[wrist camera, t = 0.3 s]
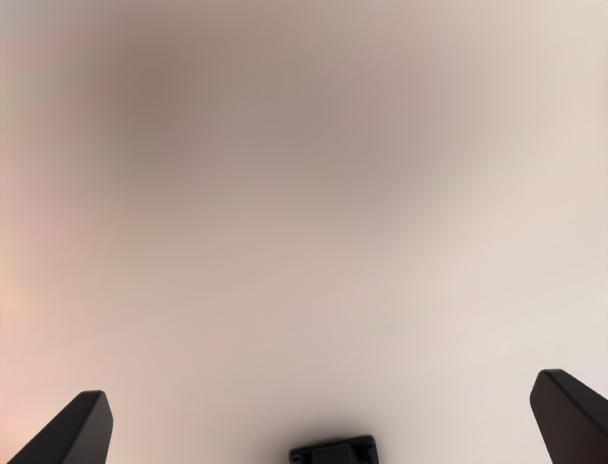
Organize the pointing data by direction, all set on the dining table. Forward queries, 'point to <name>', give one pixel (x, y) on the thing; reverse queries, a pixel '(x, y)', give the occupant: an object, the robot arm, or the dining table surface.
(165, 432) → the dining table surface
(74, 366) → the dining table surface
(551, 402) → the robot arm
